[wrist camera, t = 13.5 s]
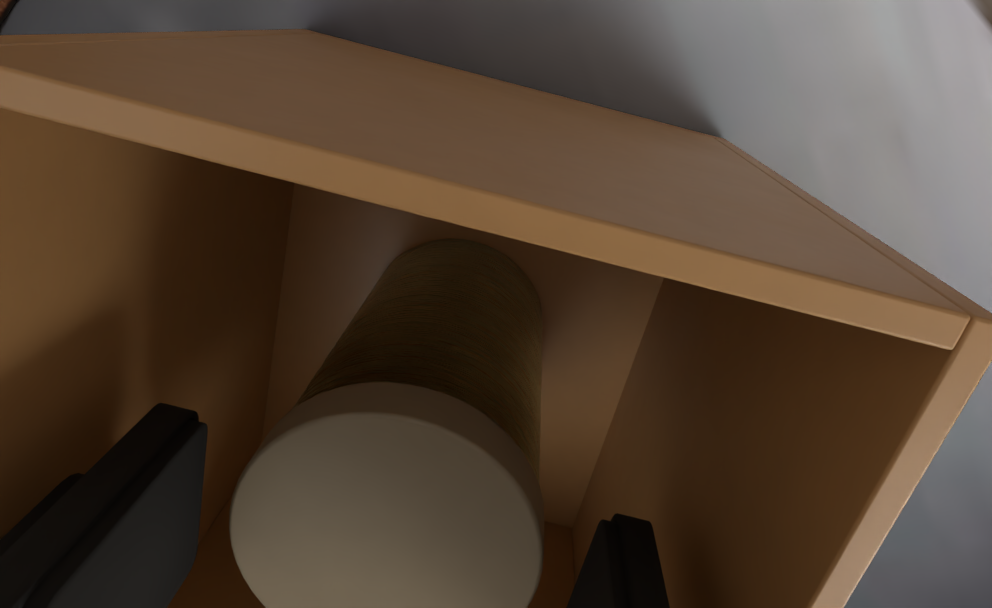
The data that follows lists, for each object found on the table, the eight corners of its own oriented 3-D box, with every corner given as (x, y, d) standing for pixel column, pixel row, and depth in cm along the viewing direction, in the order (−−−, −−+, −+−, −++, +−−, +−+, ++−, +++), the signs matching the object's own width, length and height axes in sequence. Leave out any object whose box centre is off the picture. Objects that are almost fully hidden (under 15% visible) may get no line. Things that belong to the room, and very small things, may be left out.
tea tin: (354, 374, 20) (214, 627, 12) (384, 213, 18) (241, 377, 10) (520, 416, 20) (500, 696, 12) (567, 260, 18) (584, 461, 10)
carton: (580, 531, 22) (609, 999, 11) (252, 450, 22) (-29, 854, 11) (726, 139, 17) (1015, 327, 6) (303, 28, 17) (-116, 35, 6)
